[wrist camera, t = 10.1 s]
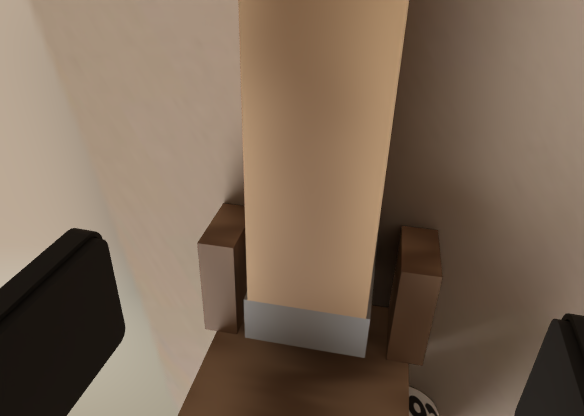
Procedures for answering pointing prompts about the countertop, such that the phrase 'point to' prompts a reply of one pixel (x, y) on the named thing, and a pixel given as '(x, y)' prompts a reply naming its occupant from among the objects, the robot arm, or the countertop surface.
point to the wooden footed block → (303, 361)
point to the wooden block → (315, 163)
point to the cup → (420, 404)
